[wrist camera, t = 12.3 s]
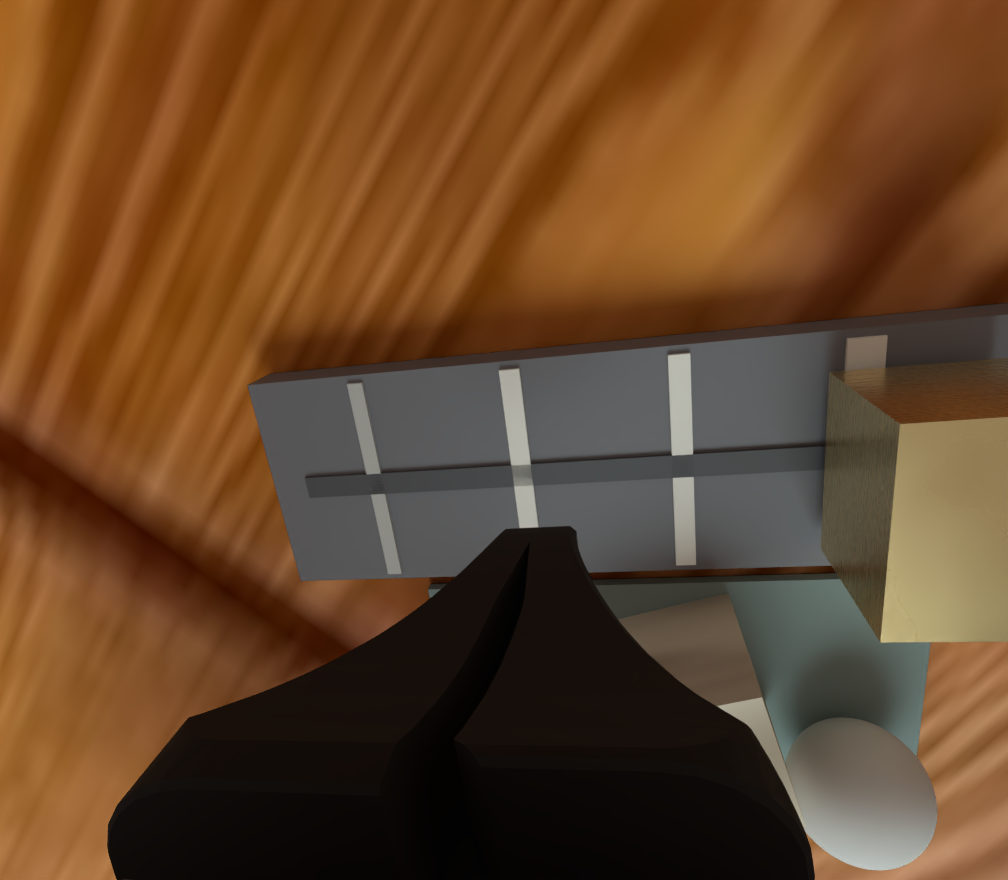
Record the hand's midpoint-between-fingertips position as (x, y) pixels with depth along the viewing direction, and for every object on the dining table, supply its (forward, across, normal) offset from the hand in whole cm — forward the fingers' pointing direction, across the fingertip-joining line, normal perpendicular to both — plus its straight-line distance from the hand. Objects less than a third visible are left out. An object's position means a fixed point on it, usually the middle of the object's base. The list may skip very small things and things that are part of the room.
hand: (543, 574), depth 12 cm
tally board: (+6, -2, 0) cm, 6 cm away
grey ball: (+6, -7, +9) cm, 13 cm away
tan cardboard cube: (+4, -8, 0) cm, 9 cm away
